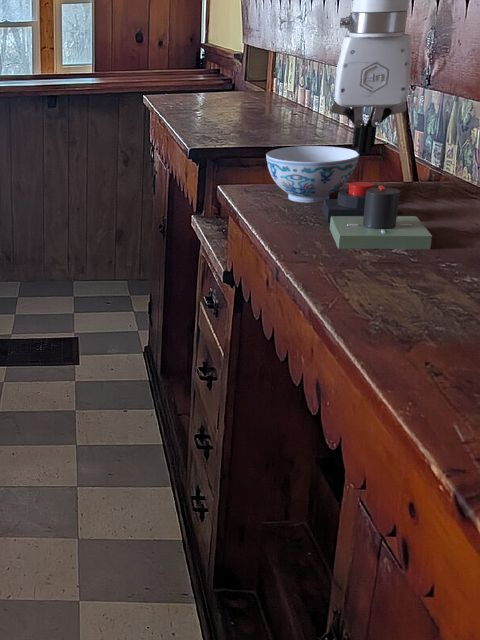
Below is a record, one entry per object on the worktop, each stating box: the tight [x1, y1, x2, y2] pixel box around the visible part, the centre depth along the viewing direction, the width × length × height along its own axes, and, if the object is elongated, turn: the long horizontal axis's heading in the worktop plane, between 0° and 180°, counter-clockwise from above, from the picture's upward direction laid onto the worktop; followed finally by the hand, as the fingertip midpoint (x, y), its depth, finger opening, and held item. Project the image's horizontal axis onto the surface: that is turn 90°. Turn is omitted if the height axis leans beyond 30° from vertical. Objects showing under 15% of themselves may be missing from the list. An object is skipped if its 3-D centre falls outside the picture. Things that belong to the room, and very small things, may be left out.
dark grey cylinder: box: [363, 184, 401, 229], centre depth 124 cm, size 4×4×5 cm
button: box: [348, 181, 375, 196], centre depth 135 cm, size 4×4×2 cm
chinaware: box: [265, 145, 360, 204], centre depth 149 cm, size 15×15×8 cm
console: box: [329, 215, 433, 250], centre depth 125 cm, size 12×11×2 cm
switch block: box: [322, 188, 366, 224], centre depth 136 cm, size 10×7×4 cm
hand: (362, 151), depth 133 cm, fingers closed
